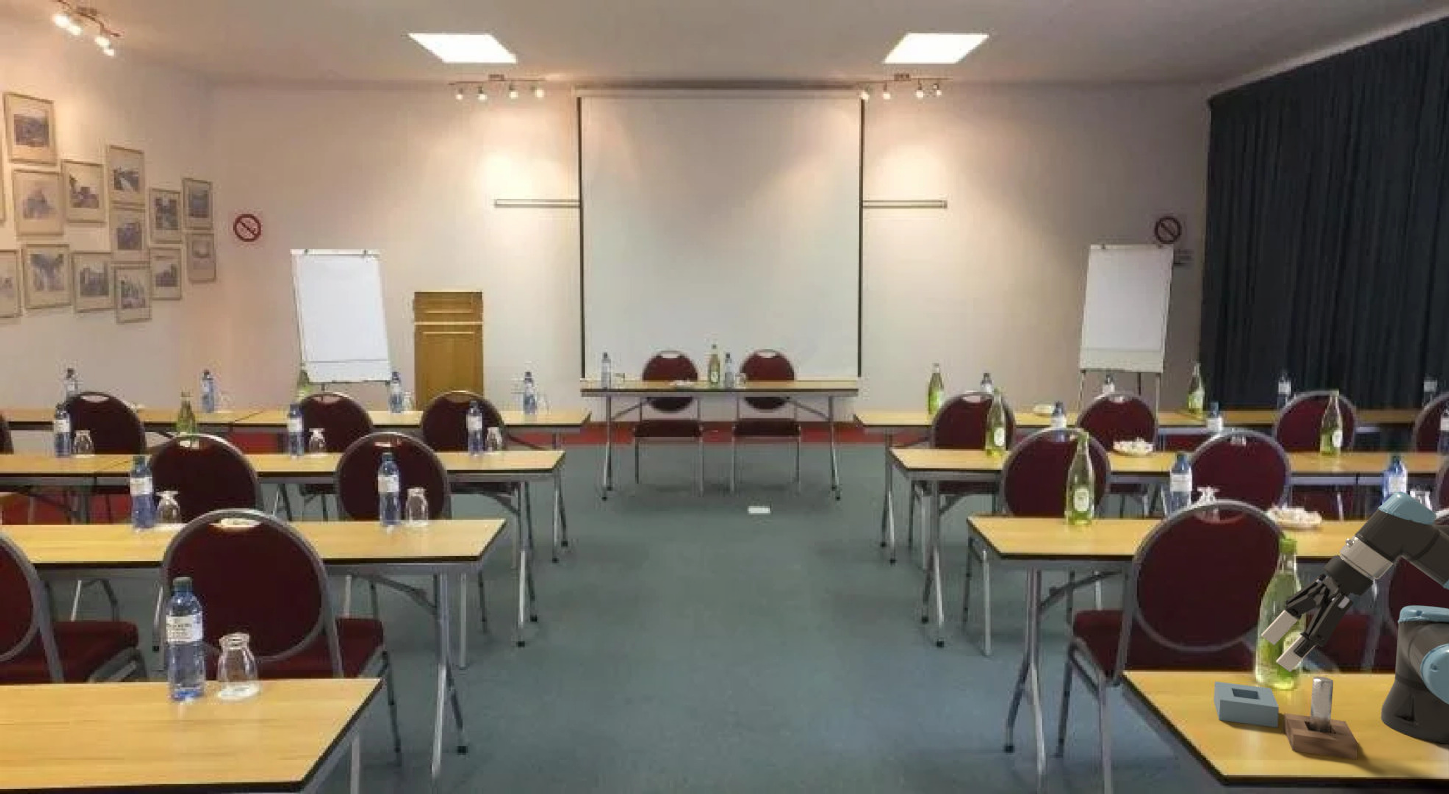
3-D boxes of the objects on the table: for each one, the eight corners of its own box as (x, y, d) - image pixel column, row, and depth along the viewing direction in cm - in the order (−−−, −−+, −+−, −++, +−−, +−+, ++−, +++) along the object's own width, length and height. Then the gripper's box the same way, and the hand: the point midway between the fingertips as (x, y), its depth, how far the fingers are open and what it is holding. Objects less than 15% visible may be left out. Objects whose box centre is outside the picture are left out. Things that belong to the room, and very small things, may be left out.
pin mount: (1344, 736, 191) (1345, 721, 191) (1356, 759, 182) (1357, 743, 181) (1283, 728, 194) (1284, 713, 194) (1292, 750, 185) (1293, 734, 185)
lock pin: (1326, 741, 189) (1331, 678, 188) (1330, 748, 186) (1335, 684, 185) (1307, 738, 190) (1311, 675, 189) (1310, 745, 187) (1314, 681, 186)
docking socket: (1269, 708, 204) (1270, 688, 204) (1277, 727, 195) (1278, 707, 194) (1213, 700, 208) (1214, 681, 207) (1219, 719, 198) (1220, 699, 198)
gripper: (1320, 536, 198) (1245, 618, 204) (1357, 574, 174) (1271, 665, 180) (1355, 560, 197) (1278, 642, 203) (1397, 602, 173) (1309, 692, 179)
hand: (1274, 653), depth 192 cm, fingers open, 13 cm apart
